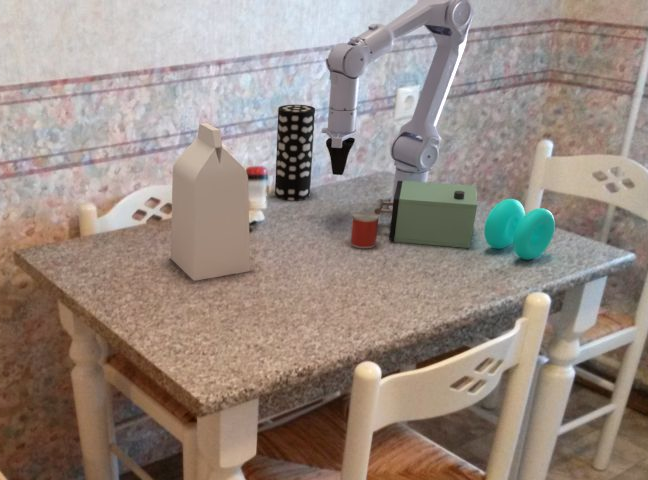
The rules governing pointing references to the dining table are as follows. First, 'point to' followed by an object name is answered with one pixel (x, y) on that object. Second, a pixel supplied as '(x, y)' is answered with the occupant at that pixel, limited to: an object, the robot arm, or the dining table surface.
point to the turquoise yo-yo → (519, 228)
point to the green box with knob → (436, 214)
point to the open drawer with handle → (394, 211)
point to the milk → (210, 209)
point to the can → (364, 230)
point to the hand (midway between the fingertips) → (337, 174)
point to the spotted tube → (294, 151)
